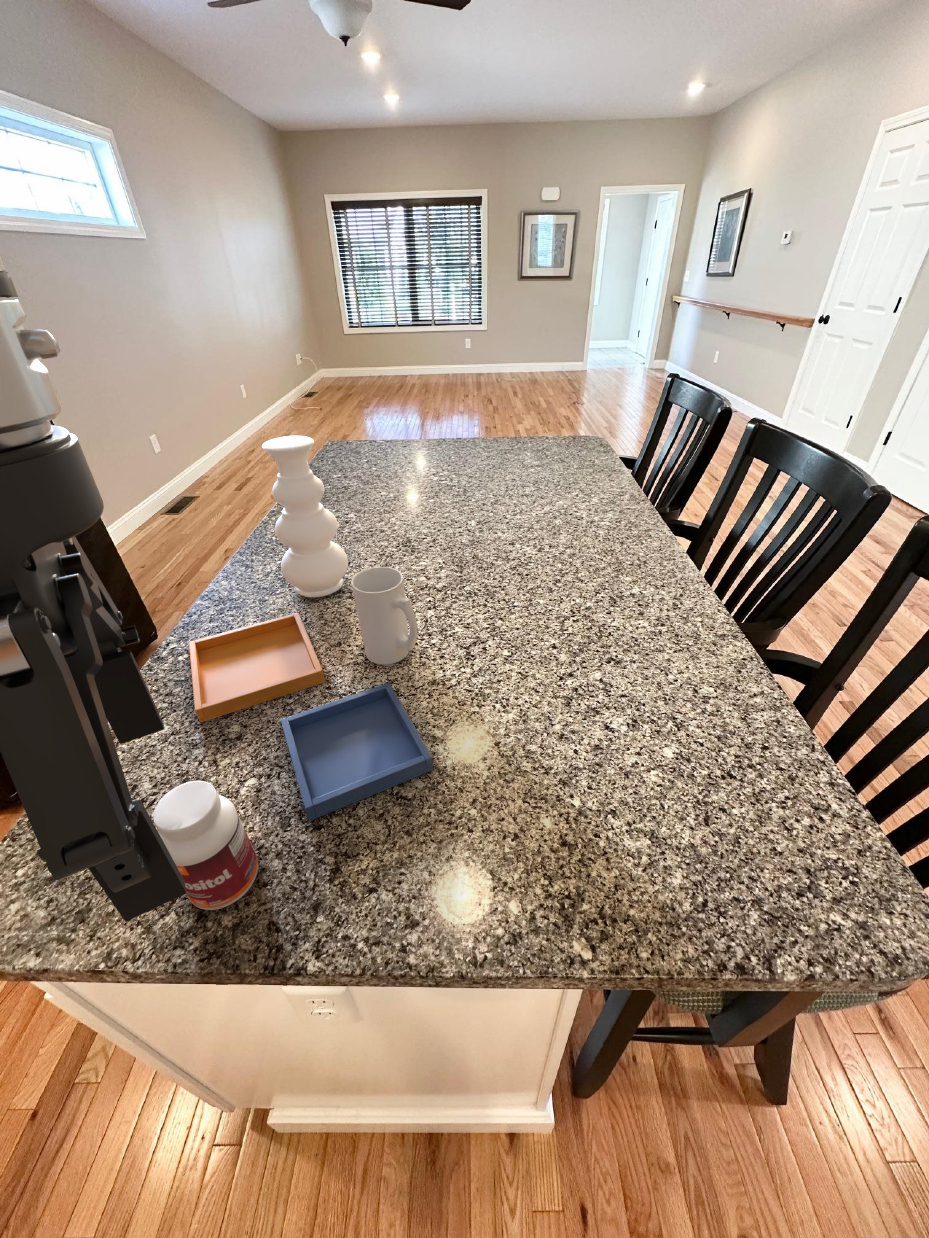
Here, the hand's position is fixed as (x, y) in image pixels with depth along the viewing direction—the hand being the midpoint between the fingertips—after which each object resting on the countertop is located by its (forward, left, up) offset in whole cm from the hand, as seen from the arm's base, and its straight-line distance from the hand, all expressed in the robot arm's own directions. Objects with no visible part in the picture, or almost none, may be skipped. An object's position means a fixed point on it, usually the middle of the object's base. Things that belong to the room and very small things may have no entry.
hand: (148, 804), depth 31 cm
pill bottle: (0, +7, -20) cm, 21 cm away
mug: (+25, +30, -20) cm, 43 cm away
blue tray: (+15, +16, -20) cm, 29 cm away
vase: (+20, +54, -20) cm, 61 cm away
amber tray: (+7, +37, -20) cm, 42 cm away
